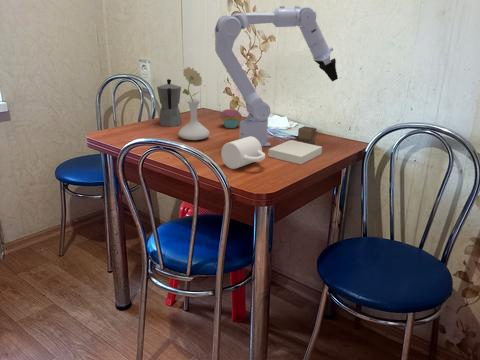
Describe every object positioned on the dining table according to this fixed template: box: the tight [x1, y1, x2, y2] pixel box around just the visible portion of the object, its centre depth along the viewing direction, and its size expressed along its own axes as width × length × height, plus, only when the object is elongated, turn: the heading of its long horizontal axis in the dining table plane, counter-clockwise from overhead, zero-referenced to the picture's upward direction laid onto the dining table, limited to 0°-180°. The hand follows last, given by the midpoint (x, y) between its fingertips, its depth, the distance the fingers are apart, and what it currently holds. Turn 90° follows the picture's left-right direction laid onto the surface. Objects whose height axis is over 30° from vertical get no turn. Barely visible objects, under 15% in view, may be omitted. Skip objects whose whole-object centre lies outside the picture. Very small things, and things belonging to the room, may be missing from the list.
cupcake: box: [219, 99, 242, 129], centre depth 169 cm, size 9×8×12 cm
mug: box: [220, 136, 266, 170], centre depth 126 cm, size 12×10×8 cm
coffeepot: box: [156, 78, 183, 128], centre depth 168 cm, size 15×9×18 cm, turn 9°
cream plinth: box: [267, 139, 323, 166], centre depth 138 cm, size 14×12×2 cm
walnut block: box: [297, 125, 317, 145], centre depth 149 cm, size 5×5×6 cm
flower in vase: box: [177, 66, 211, 141], centre depth 150 cm, size 13×11×25 cm
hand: (332, 76), depth 147 cm, fingers open, 7 cm apart
